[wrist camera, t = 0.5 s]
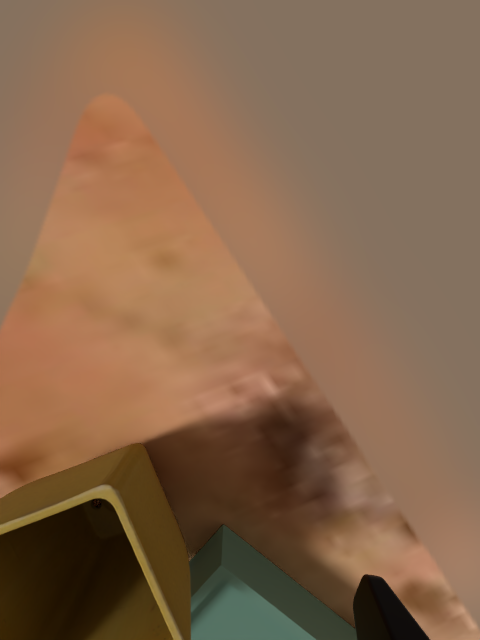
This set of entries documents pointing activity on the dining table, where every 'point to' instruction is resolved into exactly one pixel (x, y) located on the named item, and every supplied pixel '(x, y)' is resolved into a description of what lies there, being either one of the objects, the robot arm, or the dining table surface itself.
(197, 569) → the teal bin
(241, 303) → the dining table surface
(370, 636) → the robot arm
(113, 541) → the flower pot
